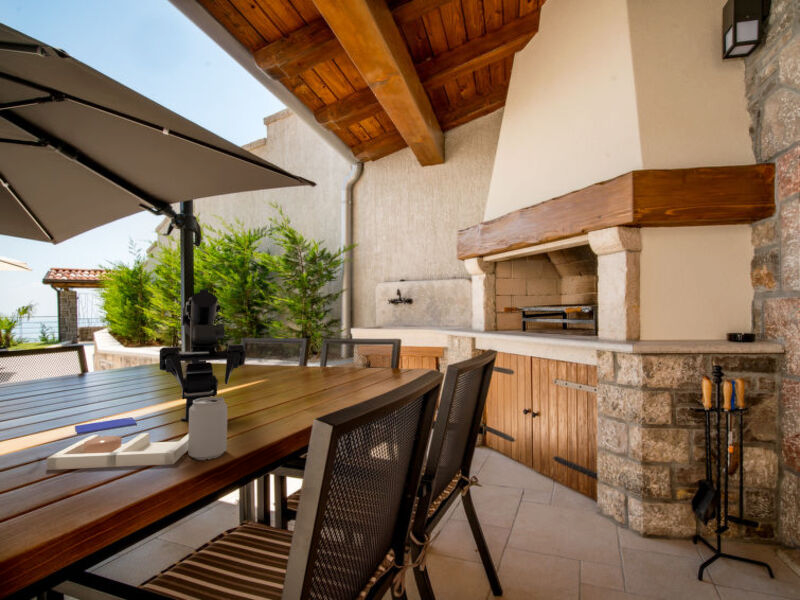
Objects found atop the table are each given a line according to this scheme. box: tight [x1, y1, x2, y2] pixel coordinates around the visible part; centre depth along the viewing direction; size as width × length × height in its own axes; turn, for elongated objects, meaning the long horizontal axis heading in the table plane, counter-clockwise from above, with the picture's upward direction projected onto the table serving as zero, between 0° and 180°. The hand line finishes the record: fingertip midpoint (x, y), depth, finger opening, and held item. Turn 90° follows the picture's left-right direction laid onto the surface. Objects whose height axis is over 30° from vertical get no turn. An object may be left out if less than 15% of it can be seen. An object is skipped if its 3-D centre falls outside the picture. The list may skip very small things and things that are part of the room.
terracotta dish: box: [84, 435, 123, 454], centre depth 85 cm, size 6×6×3 cm
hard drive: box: [74, 416, 138, 435], centre depth 105 cm, size 2×8×12 cm
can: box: [187, 396, 228, 461], centre depth 86 cm, size 8×8×12 cm
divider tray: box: [46, 432, 189, 471], centre depth 85 cm, size 14×23×3 cm, turn 98°
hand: (205, 384), depth 93 cm, fingers open, 9 cm apart
